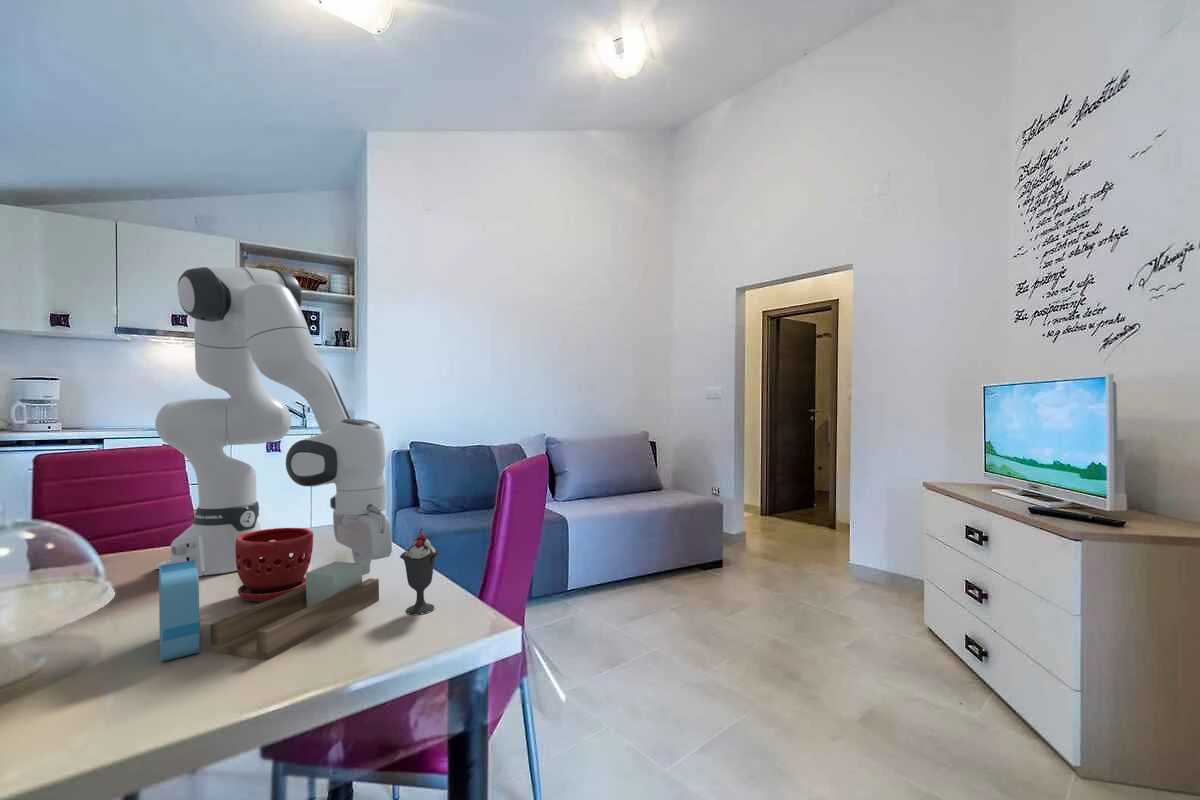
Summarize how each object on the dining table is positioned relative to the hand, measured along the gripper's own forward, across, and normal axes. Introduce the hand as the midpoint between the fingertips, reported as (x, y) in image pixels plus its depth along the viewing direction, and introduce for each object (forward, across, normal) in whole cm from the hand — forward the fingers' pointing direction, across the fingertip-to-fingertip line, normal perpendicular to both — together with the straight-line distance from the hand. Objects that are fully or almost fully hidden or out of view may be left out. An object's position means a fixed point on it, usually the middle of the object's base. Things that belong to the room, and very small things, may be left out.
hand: (362, 572), depth 104 cm
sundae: (+4, -16, -4) cm, 17 cm away
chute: (+4, -7, +12) cm, 15 cm away
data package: (+4, -2, +29) cm, 29 cm away
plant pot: (+4, +13, +12) cm, 18 cm away
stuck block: (+3, -3, +6) cm, 8 cm away
